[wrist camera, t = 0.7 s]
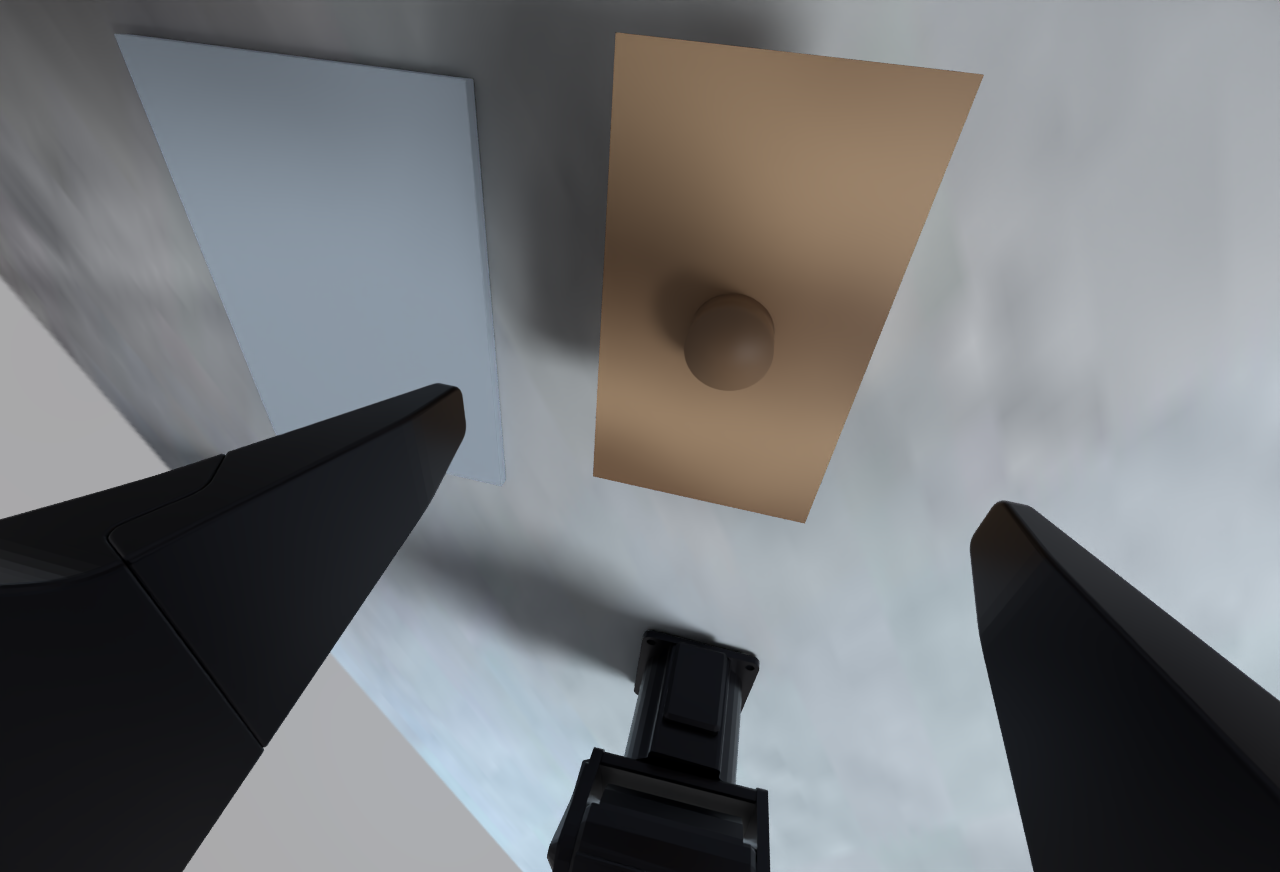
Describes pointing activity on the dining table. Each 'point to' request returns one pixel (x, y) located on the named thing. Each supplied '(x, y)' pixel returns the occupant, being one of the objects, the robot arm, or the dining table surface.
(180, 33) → the dining table surface
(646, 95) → the lid
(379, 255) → the mat
